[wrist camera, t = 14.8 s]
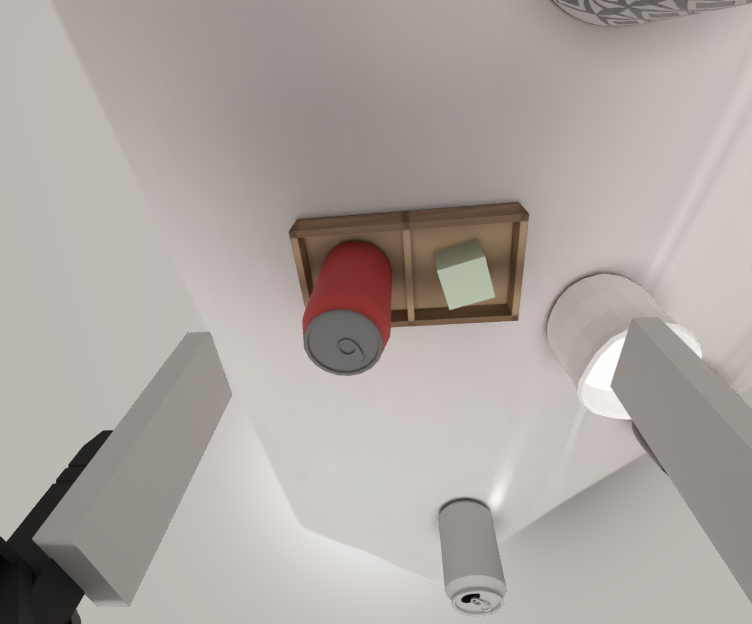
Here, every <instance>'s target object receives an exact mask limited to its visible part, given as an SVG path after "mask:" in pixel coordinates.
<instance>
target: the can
mask: <svg viewBox="0 0 752 624" xmlns="http://www.w3.org/2000/svg"><path fill="white" fill-rule="evenodd" d="M439 528H440V539H441V550H442V561H443V572H444V583H445V592H446V595H447V596H448V597H449V598H450V599H451V600H452V607H453V608H454V609H455V610H456V611H457V612H459V613H461V614H464V615H468V616H487V615H492V614H494V613H496V612H498V611H500V610H501V609H502V608H503V606H504V601H503V597H504V596H505V594H506V592H507V590H506V584H505V579H504V575H503V570H502V565H501V560H500V555H499V551H498V546H497V541H496V536H495V531H494V527H493V522H492V517H491V513H490V512H489V510H488V509H487V508H485V507H484V506H482V505H481V504H479V503H477V502H474V501H471V500H460V501H455V502H452V503H451V504H449V505H447V507H446V508H445V509H443V510H442V512H441V513H440V515H439Z"/></svg>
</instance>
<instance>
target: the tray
mask: <svg viewBox="0 0 752 624" xmlns="http://www.w3.org/2000/svg"><path fill="white" fill-rule="evenodd" d="M528 218H529V213H528V212H527V211H526V210H525V209H524V208H523V206H522V205H521V204H520V203H519V202H516V203H503V204H491V205H478V206H465V207H452V208H440V209H427V210H414V211H401V212H389V213H376V214H363V215H350V216H338V217H325V218H312V219H300V220H296V222H295V223H294V225H293V226H292V228H291V229H290V231H289V235H290V239H291V244H292V249H293V253H294V258H295V263H296V267H297V272H298V277H299V281H300V286H301V291H302V295H303V300H304V305H305V309H306V307H307V304H308V302H309V299H310V297H311V294H312V291H313V289H314V286H315V284H316V281H317V278H318V276H319V273H320V271H321V268H322V265H323V263H324V260H325V258H326V256H327V255H328V254H329V253H330V251H331V250H332V249H334V248H335V247H337V246H338V245H340V244H342V243H346V242H350V241H362V242H366V243H369V244H371V245H374V246H375V247H377V248H378V249H379V250H381V251H382V252H383V253H384V254H385V256H386V257H387V258H388V260H389V262H390V265H391V268H392V298H391V327H406V326H425V325H443V324H462V323H481V322H500V321H518V316H519V306H520V296H521V286H522V277H523V267H524V257H525V247H526V238H527V228H528ZM476 238H477V240H478V242H479V244H480V247H481V249H482V251H483V253H484V255H485V258H486V262H487V266H488V270H489V274H490V278H491V282H492V286H493V290H494V294H495V297H494V298H490V299H487V300H483V301H480V302H476V303H473V304H469V305H466V306H462V307H459V308H455V309H452V310H449V307H448V304H447V300H446V297H445V294H444V291H443V288H442V285H441V282H440V279H439V276H438V273H437V269H436V263H435V258H434V253H433V252H435V251H438V250H441V249H445V248H448V247H451V246H454V245H457V244H460V243H463V242H467V241H470V240H473V239H476Z"/></svg>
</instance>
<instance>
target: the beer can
mask: <svg viewBox="0 0 752 624" xmlns="http://www.w3.org/2000/svg"><path fill="white" fill-rule="evenodd" d="M391 298H392V268H391V265H390V262H389V260H388V258H387V257H386V256H385V254H384V253H383V252H382V251H381V250H379V249H378V248H377V247H375V246H374V245H371V244H369V243H366V242H362V241H350V242H346V243H342V244H340V245H338V246H337V247H335V248H334V249H332V250H331V251H330V253H329V254H328V255H327V256H326V258H325V260H324V263H323V265H322V268H321V271H320V273H319V276H318V278H317V281H316V284H315V286H314V289H313V291H312V294H311V297H310V299H309V302H308V304H307V307H306V310H305V313H304V316H303V336H304V337H303V338H304V348H305V350H306V353H307V355H308V357H309V358H310V359H311V360H312V361H313V362H314V364H315V365H316V366H318V367H320V368H321V369H323V370H325V371H326V372H330V373H333V374H336V375H347V376H350V375H355V374H360V373H363V372H365V371H367V370H369V369H371V368H372V367H373V366H374V365H375V364H376V363H377V362H378V360H379V358H380V356H381V354H382V352H383V350H384V348H385V346H386V344H387V342H388V339H389V337H390V329H391Z"/></svg>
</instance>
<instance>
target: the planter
mask: <svg viewBox="0 0 752 624" xmlns="http://www.w3.org/2000/svg"><path fill="white" fill-rule="evenodd" d="M553 1H554V2H555V3H556V4H557V5H559V6H560V7H561V8H562V9H564V10H565V11H566V12H567V13H569V14H571V15H573V16H575V17H577V18H579V19H581V20H582V21H585V22H589V23H593V24H597V25H600V26H618V27H619V26H627V25H635V24H641V23H648V22H653V21H659V20H664V19H670V18H675V17H681V16H686V15H692V14H697V13H702V12H708V11H713V10H718V9H723V8H729V7H734V6H739V5H745V4H750V3H752V0H553Z"/></svg>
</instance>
